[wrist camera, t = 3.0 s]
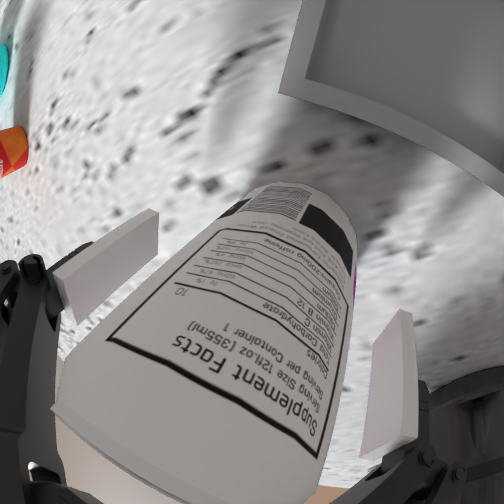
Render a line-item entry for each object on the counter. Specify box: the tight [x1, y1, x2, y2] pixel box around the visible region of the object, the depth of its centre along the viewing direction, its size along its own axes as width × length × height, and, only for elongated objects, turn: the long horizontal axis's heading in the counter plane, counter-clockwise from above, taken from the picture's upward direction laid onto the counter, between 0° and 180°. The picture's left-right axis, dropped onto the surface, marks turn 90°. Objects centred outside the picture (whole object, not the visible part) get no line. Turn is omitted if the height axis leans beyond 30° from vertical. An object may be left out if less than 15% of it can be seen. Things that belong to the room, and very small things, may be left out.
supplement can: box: [50, 182, 357, 504], centre depth 11 cm, size 8×8×15 cm
